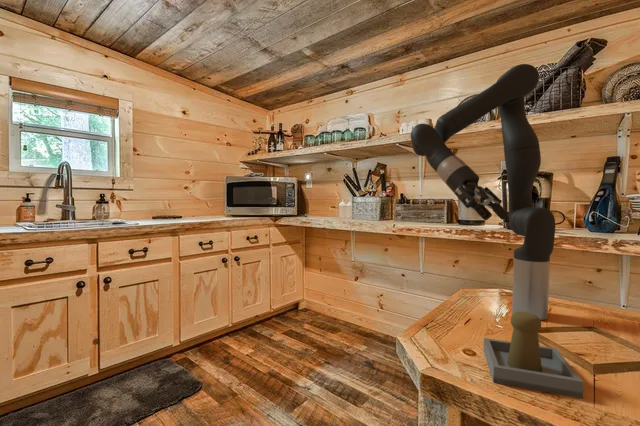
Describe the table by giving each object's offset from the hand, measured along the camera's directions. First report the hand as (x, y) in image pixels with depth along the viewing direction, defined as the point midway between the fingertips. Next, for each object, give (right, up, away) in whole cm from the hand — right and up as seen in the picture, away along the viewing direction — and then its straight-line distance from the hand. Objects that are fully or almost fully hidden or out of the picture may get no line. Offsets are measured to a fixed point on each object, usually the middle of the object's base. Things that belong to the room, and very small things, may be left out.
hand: (497, 217), depth 80 cm
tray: (-3, -31, -15) cm, 35 cm away
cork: (-3, -30, -16) cm, 34 cm away
